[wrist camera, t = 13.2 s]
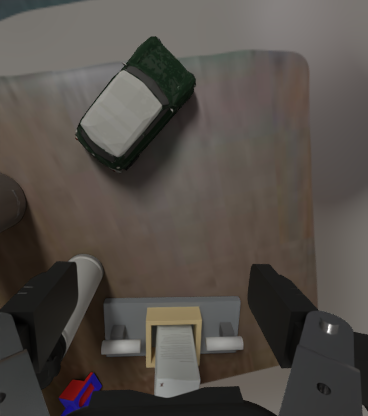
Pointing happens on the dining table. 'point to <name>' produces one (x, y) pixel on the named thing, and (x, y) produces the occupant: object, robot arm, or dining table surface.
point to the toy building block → (79, 393)
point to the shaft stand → (170, 315)
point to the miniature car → (135, 105)
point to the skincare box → (175, 361)
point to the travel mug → (87, 286)
